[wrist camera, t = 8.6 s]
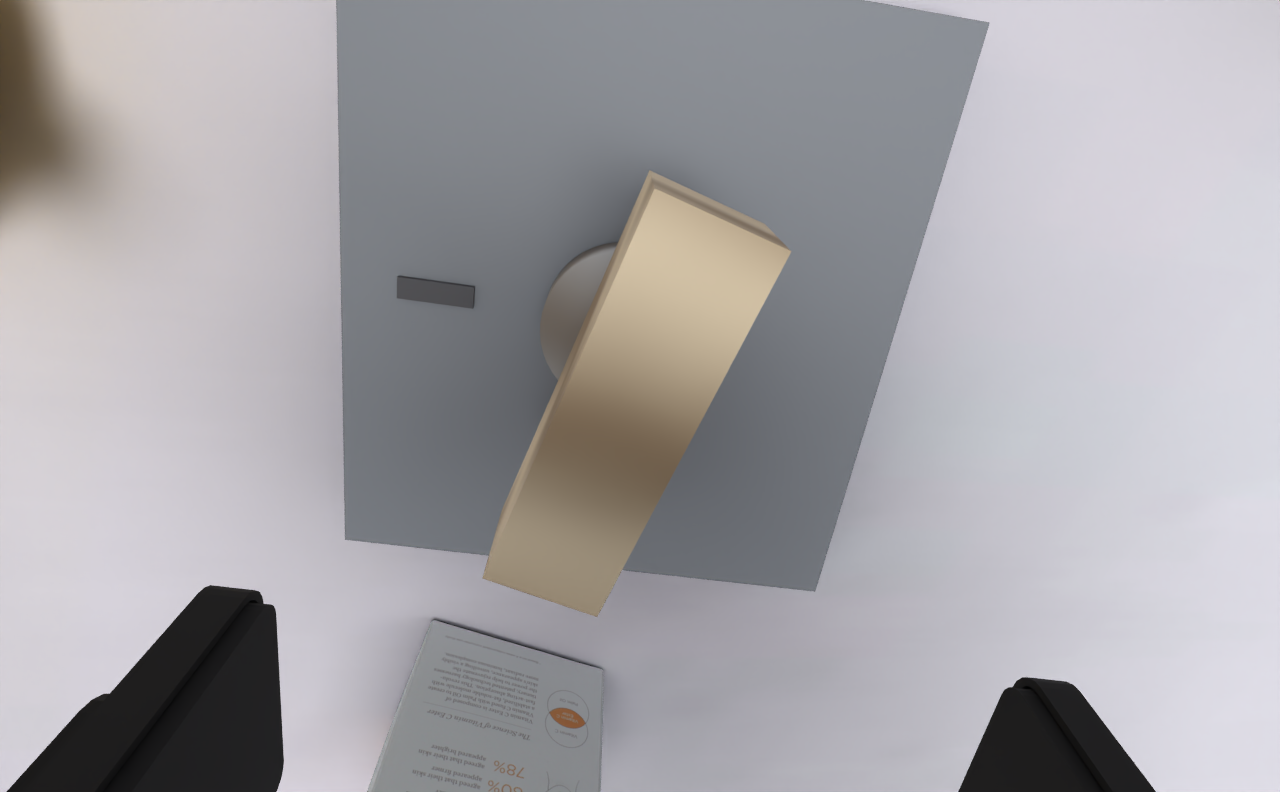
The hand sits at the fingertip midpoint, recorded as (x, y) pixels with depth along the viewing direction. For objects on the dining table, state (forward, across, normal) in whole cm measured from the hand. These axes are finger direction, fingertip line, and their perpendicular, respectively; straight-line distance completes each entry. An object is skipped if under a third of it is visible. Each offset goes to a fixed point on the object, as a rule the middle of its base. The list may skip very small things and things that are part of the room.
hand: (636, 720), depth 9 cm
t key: (+16, 0, -1) cm, 16 cm away
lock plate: (+18, 0, -1) cm, 18 cm away
